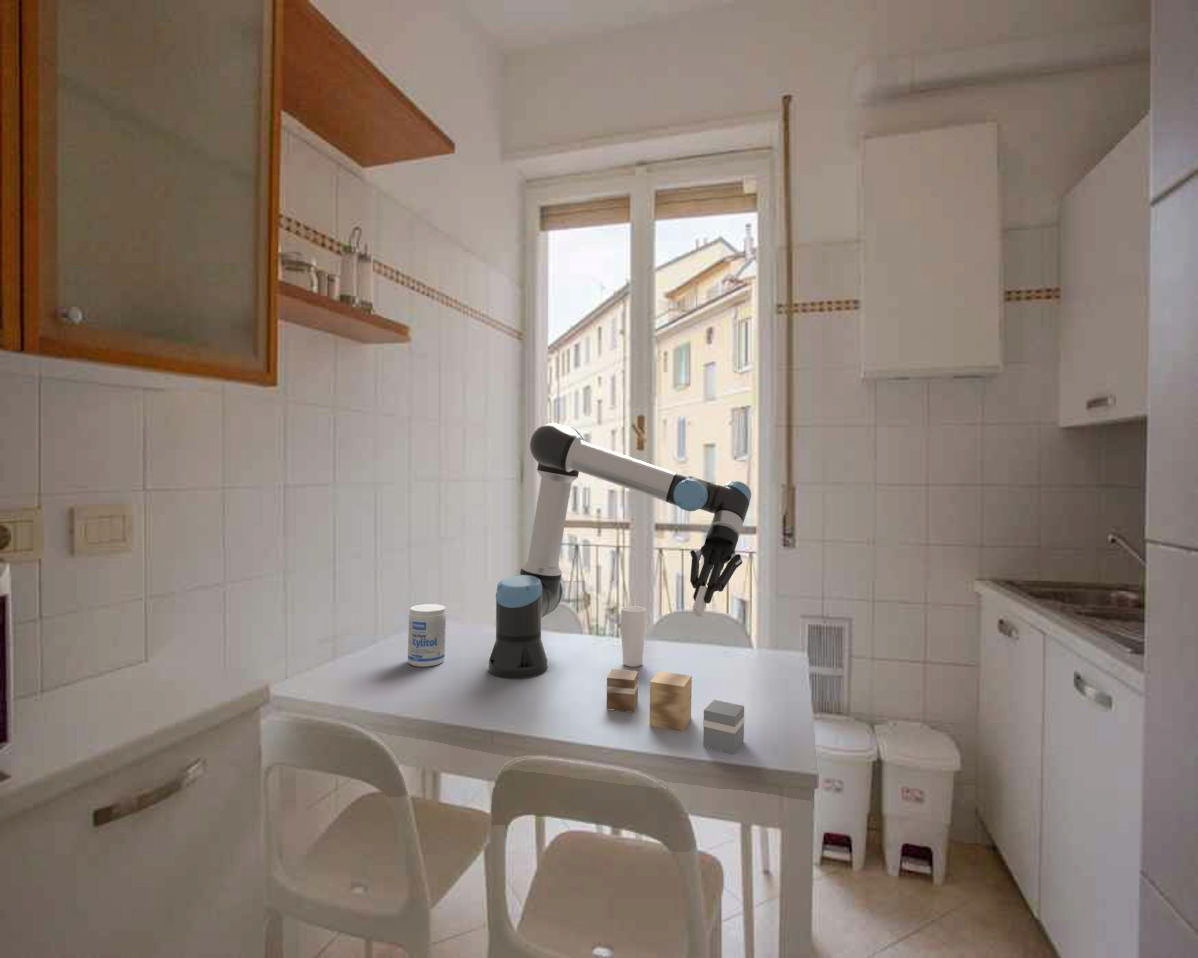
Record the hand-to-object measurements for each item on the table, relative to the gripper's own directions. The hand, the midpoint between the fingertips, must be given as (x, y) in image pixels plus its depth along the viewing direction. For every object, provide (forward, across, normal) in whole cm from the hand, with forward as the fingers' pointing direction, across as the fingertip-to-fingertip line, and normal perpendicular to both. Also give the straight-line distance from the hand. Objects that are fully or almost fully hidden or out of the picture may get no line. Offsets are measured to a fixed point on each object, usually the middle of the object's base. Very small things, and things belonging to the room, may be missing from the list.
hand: (697, 613), depth 135 cm
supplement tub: (+25, +71, -4) cm, 75 cm away
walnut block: (+22, +13, -6) cm, 26 cm away
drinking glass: (+4, +24, -25) cm, 35 cm away
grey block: (+26, -13, -2) cm, 29 cm away
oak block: (+24, 0, -5) cm, 24 cm away
